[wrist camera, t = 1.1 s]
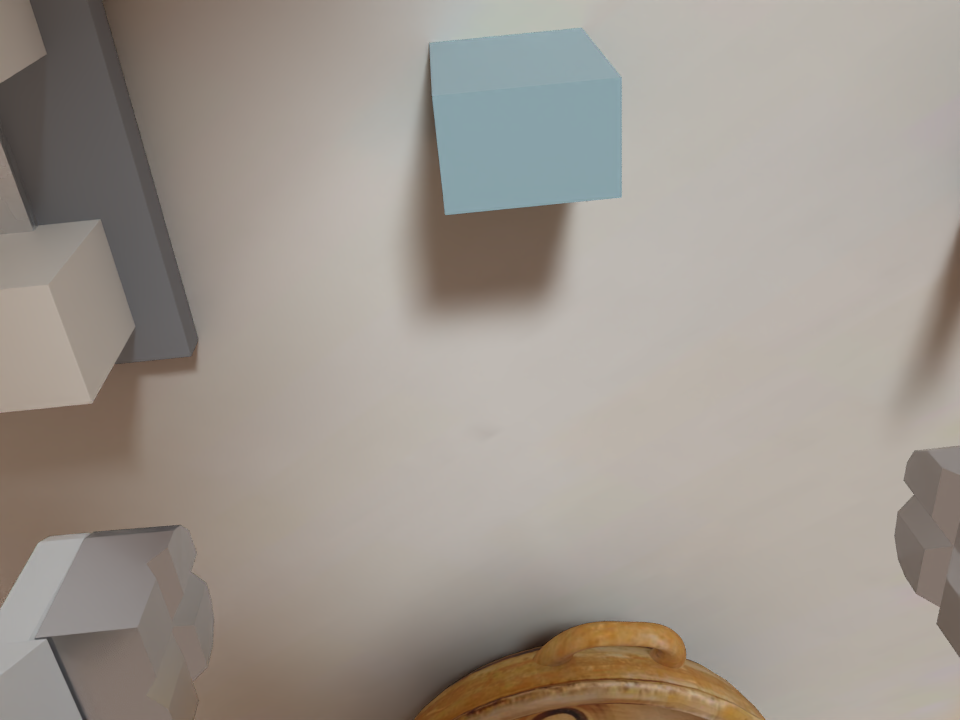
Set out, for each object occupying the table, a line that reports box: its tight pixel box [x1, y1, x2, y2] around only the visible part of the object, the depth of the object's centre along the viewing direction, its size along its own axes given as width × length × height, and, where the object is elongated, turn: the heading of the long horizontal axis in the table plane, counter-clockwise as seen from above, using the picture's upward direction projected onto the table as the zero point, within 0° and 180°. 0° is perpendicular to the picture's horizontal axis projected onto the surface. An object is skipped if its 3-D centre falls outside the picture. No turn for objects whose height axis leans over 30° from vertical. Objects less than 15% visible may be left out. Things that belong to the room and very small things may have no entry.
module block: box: [429, 28, 622, 215], centre depth 33 cm, size 4×6×8 cm, turn 95°
